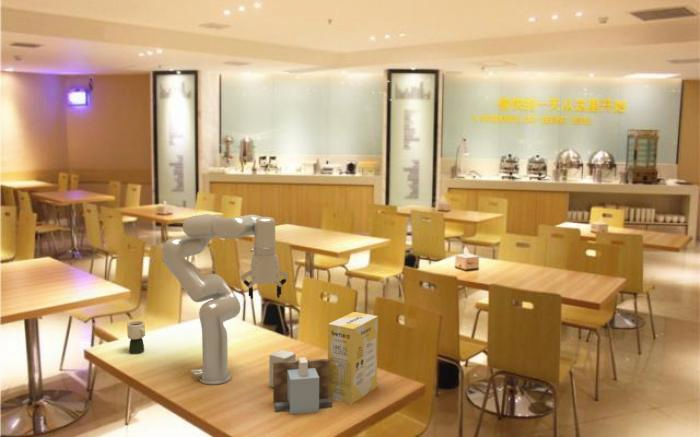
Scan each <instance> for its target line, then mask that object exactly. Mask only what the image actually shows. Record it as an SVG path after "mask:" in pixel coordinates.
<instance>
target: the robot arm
mask: <svg viewBox="0 0 700 437" xmlns="http://www.w3.org/2000/svg"><path fill="white" fill-rule="evenodd" d="M182 230H183V233H184V235H179V236H175V237H172V238H169V239H168V240H166V241H165V242H164V244H163V245H162V248H161V257H162V261H163V262H164V265H165V267H167V269H168V270H169V271H170V273H172V274H173V276H174V277H175V278H176V279H177V281H178V282H179V285H180V286H182V288H183V290H184V291H185V292H186V294H187V295H188V296H189V298H190V299H191V300H192V301H193V302H195V303H201V302H204V303H203V304H202V305H201V306H200V308H199V310H198V316H199V320H200V321H199V322H200V325H201V326H200V328H201V342H202V344H201V345H202V348H201V349H202V365H201V367H200V368H198V369H197V368H196V369H195V368H191V369H190V374H191V375H193V376H194V377H198V380H199V382H200V383H203V384H205V385H221V384H226V383H228V382H229V381H231V379H233V378H232V377H233V374H232V373H231V372H230V371H228V370H229V367H228V361H229V360H228V359H229V357H228V351H229V349H228V332H227V329H226V328H225V326H224V323H225V322H227V321H229V320H231V319H234V318H236V317H237V316H238V315H239V314H240V312H241V303H240V301H239V298H237V295H236V294H235V293H234V291H233V290H232V289H231V287H230V286H229V285H228V283H227V281H225V279H224V278H223V277H222V276H220V275H219V274H215V273H211V274H206V275H203V274H202V273H201V271H199V269H198V268H197V266H196V265H195V264H193V263H192V262H190V261H189V260H188V259H186V258H187V257H191V256H195V255H199V254H201V253H202V252H203V251H204V250H205V249H206V248H207V246H208V245H209V243H210V242H211V241H212V239H213V238H217V239H223V240H224V239H229V240H230V239H242V238H245V237H249V236H253V237H254V238H253V240H254V241H253V242H254V244H253V245H254V246H253V247H252V248H250V250H249V251H250V253H252V256H251V264H250V270H249V271H247V272H245V273H243V274H241V275H240V279H241V281H242V282H243V284H244V285H245V286H246V287H247V288H248V297H250V299H251V300H252V299H254V288H253V286H254V285H255V284H276V298H278V299H280V296H281V295H282V287H283V285H285V283H286V282H287V280H288V279H289V276H290V274H289V273H287V272H285V271H284V270H281V269H280V263H279V256H278V255H277V253H276V220H275V218H274V217H270V216H260V215H257V214H245V215H240V216H235V217H223V216H221V215H219V214H210V213H205V214H197V215H193V216H190V217H187V218H186V219H185V220H184V222H183V223H182ZM280 275H281V276H283V278H282V279H281V280H280ZM249 276H250V281H248V280H247V277H249Z"/></svg>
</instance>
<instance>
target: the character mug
mask: <svg viewBox="0 0 700 437" xmlns="http://www.w3.org/2000/svg"><path fill="white" fill-rule="evenodd" d="M145 329H146V328H145V321H143V320H132V321H129V322H127V325H126V330H127V338H128V339H129V347H128V348H129V349H128V352H129V353H132V354H136V353H138V352H139V353H141V352H144V351H145V344H144V339H143V338H144V337H145V336H146V330H145Z"/></svg>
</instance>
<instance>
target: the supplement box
mask: <svg viewBox="0 0 700 437" xmlns="http://www.w3.org/2000/svg"><path fill="white" fill-rule="evenodd" d="M296 359H297V358H296V352H292V351H288V350H284V349H280V350H278V351H275V352H273V353H271V354H269V384H268V385H269V387H271V388H273V362H285V361H296Z"/></svg>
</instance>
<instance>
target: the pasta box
mask: <svg viewBox="0 0 700 437" xmlns="http://www.w3.org/2000/svg"><path fill="white" fill-rule="evenodd" d="M378 325H379V316H378V315H374V314H368V313H364V312H356V311H353V312H350V313H348V314H347V315H344V316H342V317H340V318H337V319H336V320H334V321H332V322H330V323H328V325H327V326H328V327H327V333H328V334H327V359H329V398H331V400H332V399H333V400H335V401H338V402H342V403H347V404H350V405H353V404H354V403H356V402H357V401H358V400H360V399H362V398H363V397H365V395H367V394H369V393H370V392H371V391H373V390H374V389H376V388H377V382H378V381H377V376H378V375H377V373H378V338H379V337H378V336H379V335H378V332H379V330H378V328H379V326H378Z"/></svg>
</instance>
